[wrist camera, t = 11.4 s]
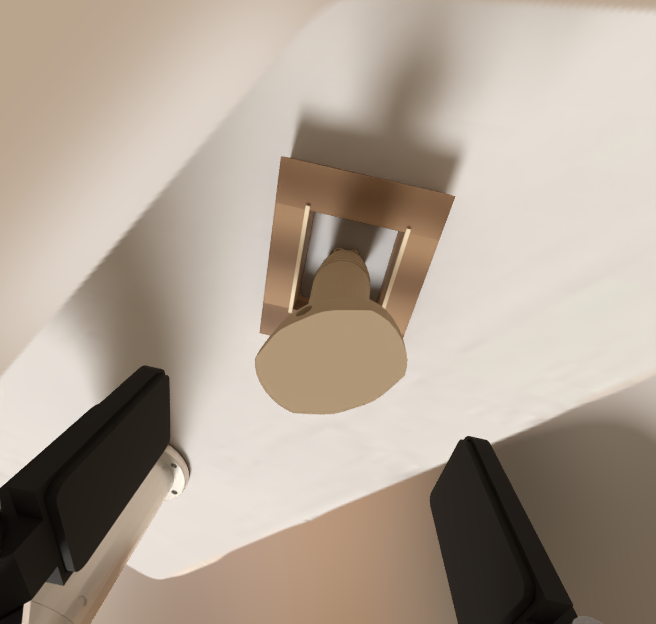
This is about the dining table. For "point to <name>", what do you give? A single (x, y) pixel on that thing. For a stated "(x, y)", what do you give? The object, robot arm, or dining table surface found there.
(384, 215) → the wooden frame
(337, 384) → the handle
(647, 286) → the dining table surface
